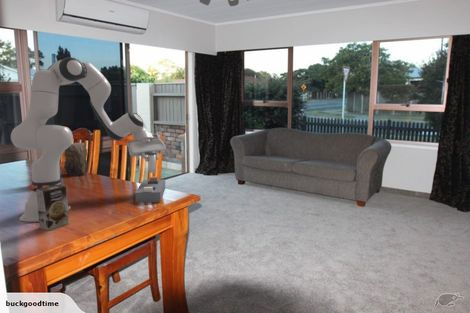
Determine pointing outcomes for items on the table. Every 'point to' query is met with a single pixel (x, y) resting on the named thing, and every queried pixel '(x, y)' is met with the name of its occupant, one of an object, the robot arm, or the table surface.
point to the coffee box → (52, 207)
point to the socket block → (150, 190)
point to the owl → (76, 159)
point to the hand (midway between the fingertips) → (152, 160)
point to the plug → (152, 162)
